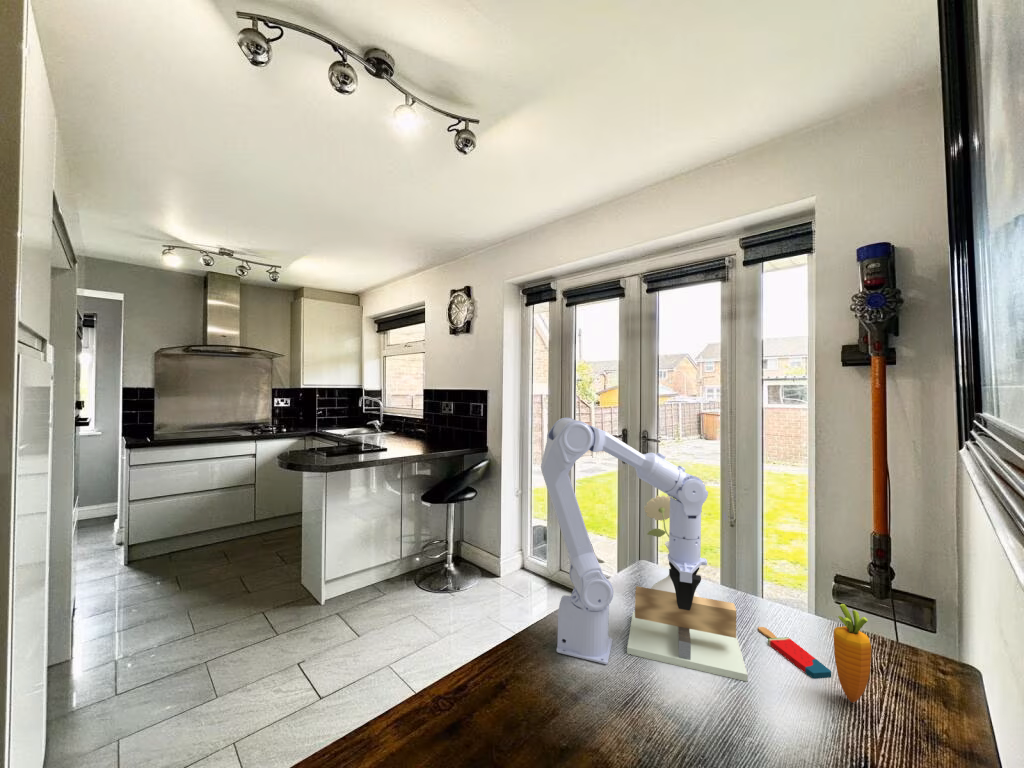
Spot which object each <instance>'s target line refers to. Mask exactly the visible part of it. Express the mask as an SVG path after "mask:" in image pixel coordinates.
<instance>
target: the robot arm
mask: <svg viewBox="0 0 1024 768" xmlns="http://www.w3.org/2000/svg"><path fill="white" fill-rule="evenodd" d="M544 447H545V448H544V451H543V456H542V460H541V463H540V464H541V465H540V469H541V473H542V477H543V480H544V483H545V486H546V490H547V492H548V495H549V498H550V501H551V504H552V507H553V511H554V514H555V517H556V519H557V522H558V526H559V529H560V532H561V535H562V538H563V541H564V544H565V547H566V550H567V553H568V555H567V557H568V561H569V571H568V573H569V575H568V576H569V579H570V581H571V583H572V584H573V586H574V588H573V590H572V591H571V595H566V594H565V595H562V596H561V599H560V602H559V605H558V612H557V614H558V615H557V647H556V652H557V654H558V653H559V654H562V655H566V656H571V657H575V658H579V659H583V660H587V661H591V662H596V663H599V664H602V665H603V664H604V665H608V663H609V660H610V656H611V655H610V654H611V650H612V646H613V642H614V641H613V638H611V637H609V632H610V631H609V628H610V626H609V625H610V623H609V622H610V617H609V615H610V604H611V603H612V601H613V598H614V587H613V585H612V583H611V581H610V579H608V578H607V577H606V575H605V574H604V573H603V570H602V567H601V565H600V563H599V561H598V558H597V556H596V554H595V552H594V548H593V546H592V543H591V539H590V537H589V533H588V530H587V526H586V525H585V522H584V517H583V515H582V511H581V509H580V508H581V507H580V506H579V503H578V499H577V497H576V494H575V490H574V487H573V485H572V481H571V478H570V471H571V469H572V468H573V466H574V465H575V463H576V461H578V460H579V459H580V458H581V457H582V456H584V455H585V454H586V453H588V451H590V452H592V453H597V452H605V453H607V454H608V455H610V456H612V457H614V458H616V459H618V460H619V461H622V463H623V462H624V463H625V464H627V465H629V466H631V467H633V468H634V469H635V473H636V476H637V478H638V479H639V480H642V481H643V482H645V483H647V484H649V485H650V486H652V487H654V488H656V489H657V490H658V491H660V492H662V493H664V494H665V495H667V496H669V497H670V518H669V529H668V530H669V531H668V532H669V533H668V534H669V537H668V541H669V551H668V554H667V560H668V564H669V565H668V566H669V567H670V568H669V569H668V575H670V578H671V580H672V582H673V584H674V588H675V592H676V599H677V604H678V608H679V609H683V610H689V611H690V609H691V606H692V602H693V597H694V593H695V590H696V591H697V588H698V586H699V585H700V583H701V582H702V575H700V574H699V575H698V574H697V573H698V572H699V570H700V567H701V566H707V565H708V560H707V558H705V557H701V548H702V546H701V544H702V541H701V539H702V538H701V536H702V534H701V533H702V512H703V511H702V510H703V505H704V503H705V502H706V501H707V498H708V495H709V491H708V490H706V485H705V483H704V481H703V480H702V479H701V478H700V477H697V476H695V475H692V474H689V472H688V473H687V472H686V468H685V467H684V466H681V465H676V464H674V463H672V462H670V461H668V460H666V455H664V454H663V453H660V452H656V453H654V452H647V453H642V452H640V451H638V450H637V449H635V448H633V447H632V446H631V445H629V444H628V443H625V442H624V441H622V440H620V439H618V438H617V437H616V436H614V435H612V434H610V433H609V432H608V431H605V430H603V429H600V428H598V427H596V426H592V425H590V424H587V423H586V422H584V421H582V420H576V419H574V418H572V417H562V418H560V419H558V420H556V422H555V423H554V424H553V425H552V427H551V428H550V429H549V431H548V433H547V435H546V443H545V446H544Z"/></svg>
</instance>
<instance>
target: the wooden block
mask: <svg viewBox="0 0 1024 768" xmlns="http://www.w3.org/2000/svg"><path fill="white" fill-rule="evenodd" d="M634 598H635V599H634V612H635V618H638V619H643V620H648V621H653V622H658V623H663V624H668V625H673V626H678V627H683V628H688V629H693V630H698V631H703V632H708V633H713V634H718V635H723V636H728V637H733V638H736V636H737V609H736V605H735V603H734V602H729V601H724V600H717V599H712V598H705V597H701V596H700V597H696V596H694V597H693V602H692V606H691V609H690V611H689V610H683V609H679V608H678V604H677V599H676V593H673V592H667V591H661V590H655V589H651V588H648V587H643V586H635V594H634Z"/></svg>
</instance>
